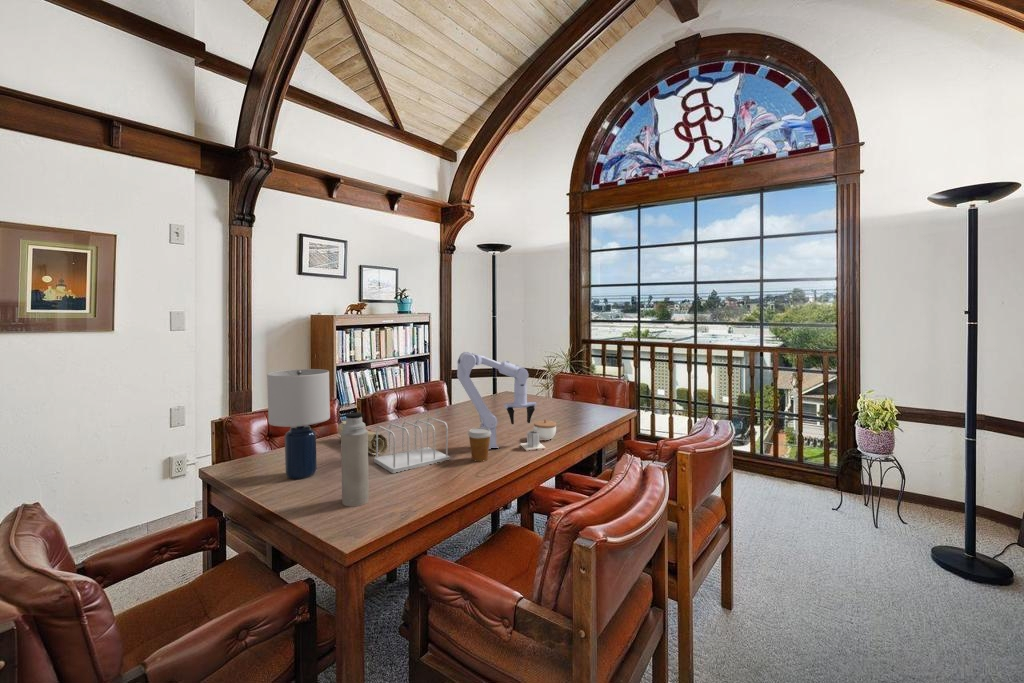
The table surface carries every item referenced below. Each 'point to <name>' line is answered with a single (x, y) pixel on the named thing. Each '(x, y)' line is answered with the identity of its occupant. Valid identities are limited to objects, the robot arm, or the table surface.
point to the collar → (533, 439)
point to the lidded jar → (545, 429)
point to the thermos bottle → (354, 461)
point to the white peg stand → (531, 447)
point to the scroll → (370, 440)
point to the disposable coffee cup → (479, 443)
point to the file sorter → (410, 451)
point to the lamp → (299, 414)
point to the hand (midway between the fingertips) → (520, 423)
